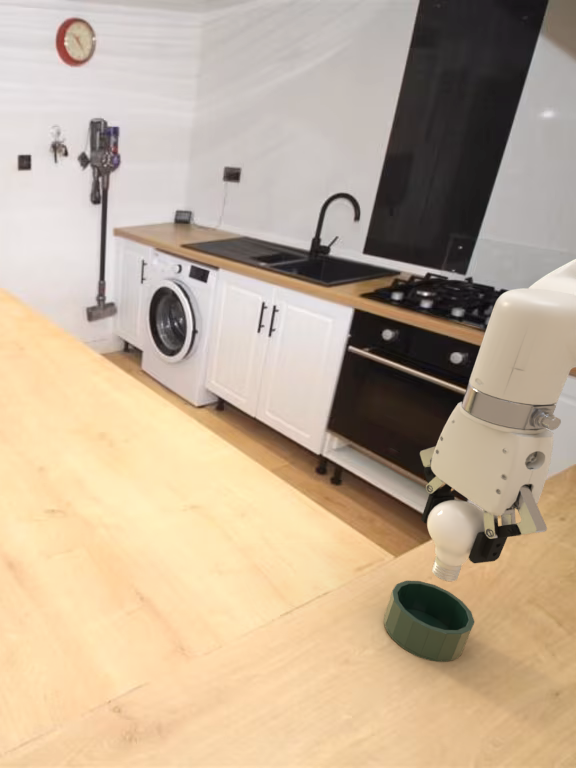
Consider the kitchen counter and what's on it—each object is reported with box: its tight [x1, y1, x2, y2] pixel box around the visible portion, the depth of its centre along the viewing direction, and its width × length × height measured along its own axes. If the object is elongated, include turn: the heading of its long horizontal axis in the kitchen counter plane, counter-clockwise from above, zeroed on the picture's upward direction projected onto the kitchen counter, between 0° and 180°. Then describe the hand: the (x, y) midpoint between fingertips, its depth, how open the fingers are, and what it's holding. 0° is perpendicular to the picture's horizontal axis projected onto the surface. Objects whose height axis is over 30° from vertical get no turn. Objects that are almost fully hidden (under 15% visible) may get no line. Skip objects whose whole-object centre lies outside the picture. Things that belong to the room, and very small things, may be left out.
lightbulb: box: [426, 499, 485, 583], centre depth 65 cm, size 6×6×11 cm
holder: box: [383, 580, 475, 663], centre depth 70 cm, size 9×9×5 cm
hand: (456, 538), depth 65 cm, fingers closed on lightbulb, 6 cm apart
